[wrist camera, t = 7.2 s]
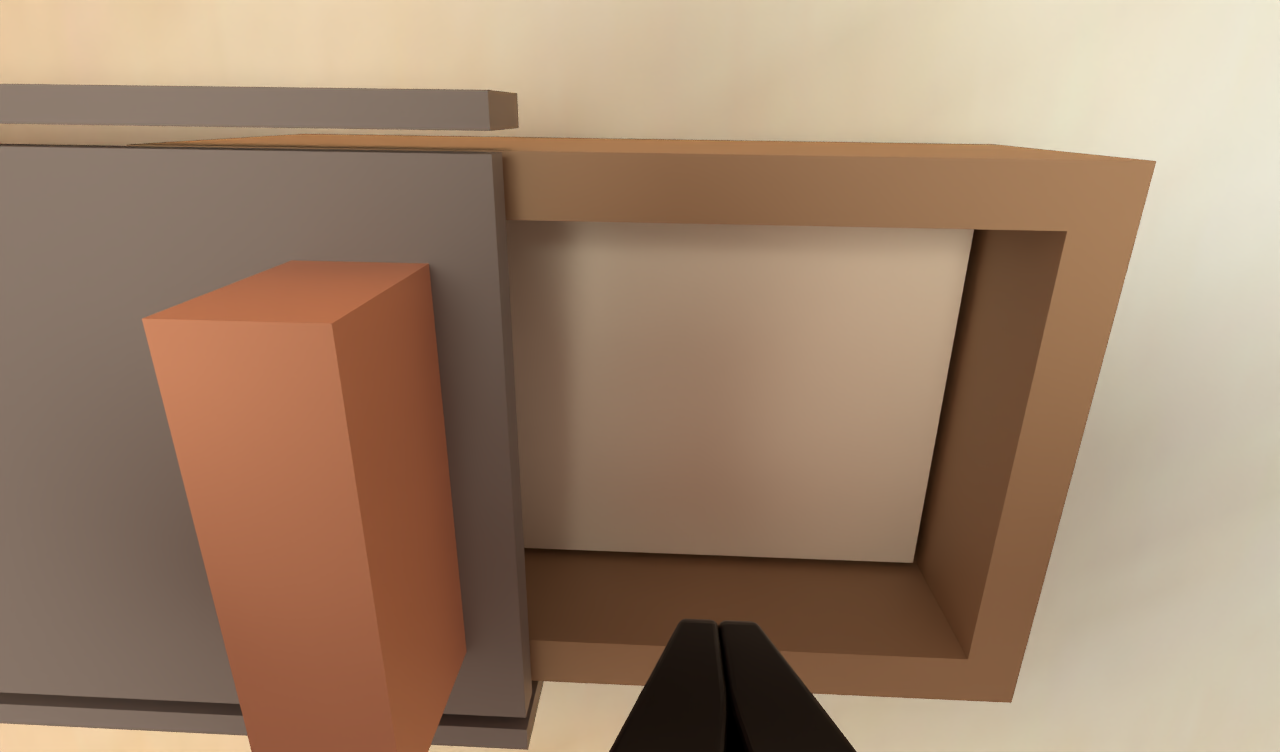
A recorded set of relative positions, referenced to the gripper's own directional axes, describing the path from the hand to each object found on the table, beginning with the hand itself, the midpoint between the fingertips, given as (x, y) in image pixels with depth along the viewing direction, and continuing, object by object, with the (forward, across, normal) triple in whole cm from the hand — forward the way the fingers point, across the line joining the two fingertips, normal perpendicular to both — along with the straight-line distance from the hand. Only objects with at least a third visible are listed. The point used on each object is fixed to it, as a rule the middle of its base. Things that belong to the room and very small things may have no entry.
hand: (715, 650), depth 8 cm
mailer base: (+10, +1, 0) cm, 10 cm away
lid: (+5, +11, 0) cm, 12 cm away
